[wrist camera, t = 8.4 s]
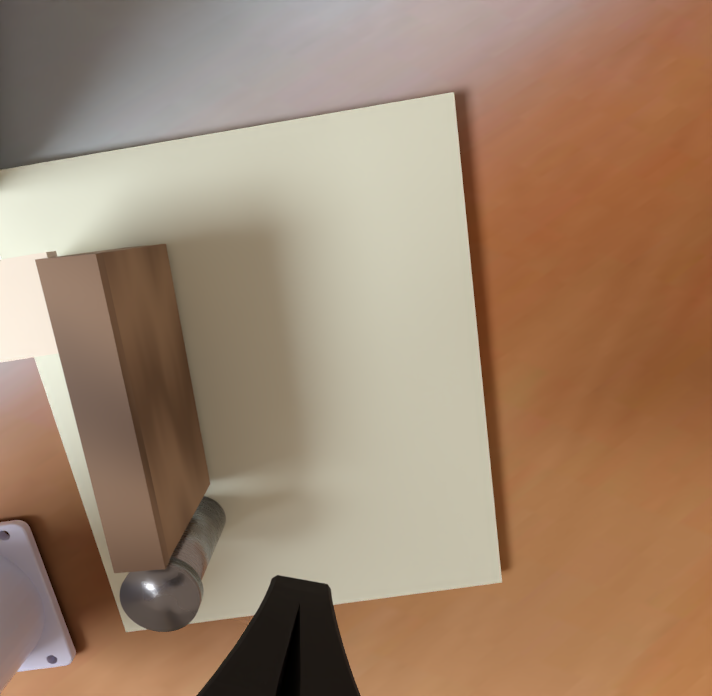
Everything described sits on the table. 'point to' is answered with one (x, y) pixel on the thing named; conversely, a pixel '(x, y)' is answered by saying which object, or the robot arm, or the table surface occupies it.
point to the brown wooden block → (129, 396)
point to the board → (303, 342)
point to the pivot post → (175, 576)
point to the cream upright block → (24, 310)
